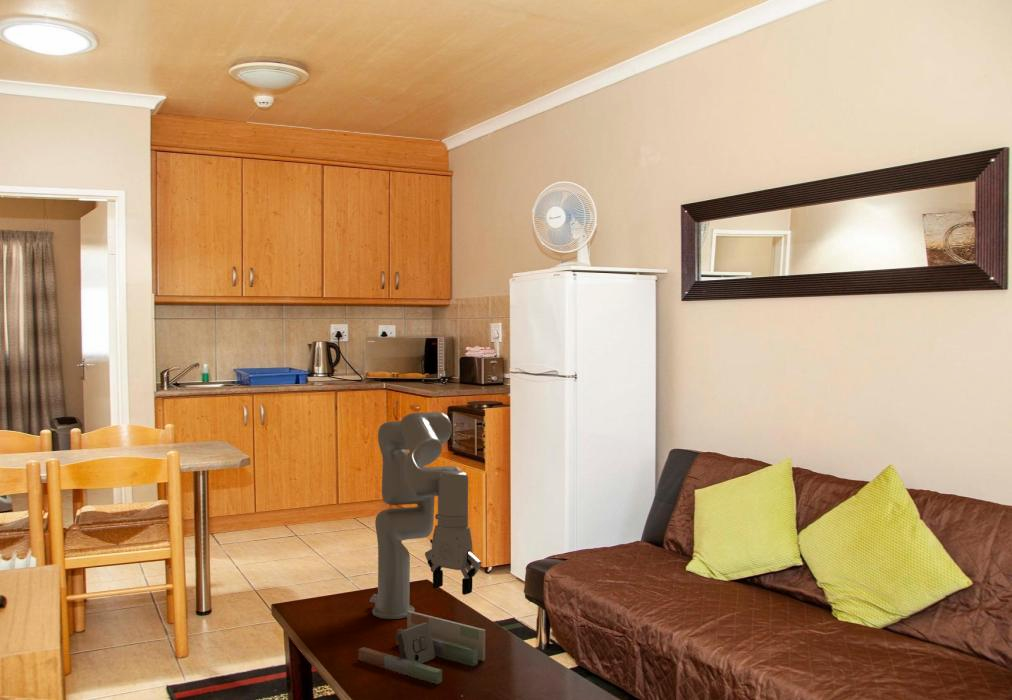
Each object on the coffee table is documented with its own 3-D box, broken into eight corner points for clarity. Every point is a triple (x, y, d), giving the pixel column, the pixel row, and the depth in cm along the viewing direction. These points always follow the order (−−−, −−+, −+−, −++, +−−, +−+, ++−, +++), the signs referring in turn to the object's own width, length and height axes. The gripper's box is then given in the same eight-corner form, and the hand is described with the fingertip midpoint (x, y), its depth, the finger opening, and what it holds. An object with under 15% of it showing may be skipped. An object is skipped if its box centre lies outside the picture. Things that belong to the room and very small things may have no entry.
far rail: (396, 644, 234) (396, 630, 234) (401, 642, 236) (401, 628, 236) (473, 666, 219) (473, 650, 219) (477, 664, 221) (477, 648, 221)
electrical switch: (410, 669, 217) (408, 632, 218) (395, 666, 220) (393, 629, 221) (435, 659, 224) (433, 623, 225) (421, 656, 228) (419, 620, 228)
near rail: (358, 660, 222) (358, 649, 222) (363, 658, 224) (363, 647, 224) (436, 684, 208) (436, 672, 207) (441, 682, 209) (442, 669, 209)
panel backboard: (406, 640, 238) (407, 611, 238) (409, 639, 238) (409, 610, 238) (482, 661, 223) (483, 630, 223) (485, 660, 224) (485, 629, 224)
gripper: (416, 519, 217) (415, 587, 217) (471, 528, 207) (470, 600, 207) (435, 514, 223) (434, 581, 223) (489, 522, 213) (489, 592, 213)
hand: (452, 590), depth 215 cm, fingers open, 8 cm apart
